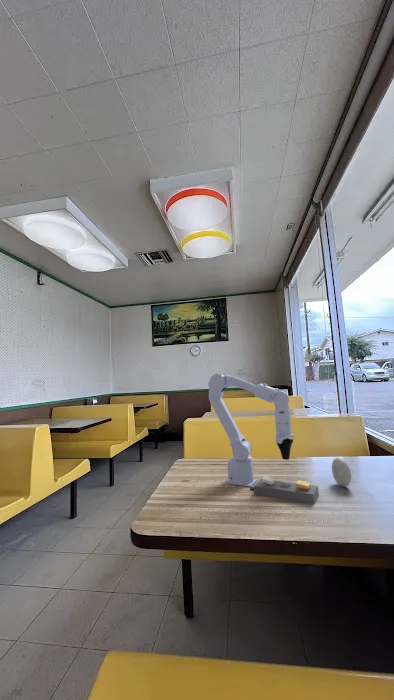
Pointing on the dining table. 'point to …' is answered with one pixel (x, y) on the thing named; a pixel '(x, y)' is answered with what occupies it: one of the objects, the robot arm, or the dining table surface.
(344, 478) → the grey round disc
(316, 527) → the dining table surface
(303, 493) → the power strip
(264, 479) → the white plug
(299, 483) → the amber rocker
